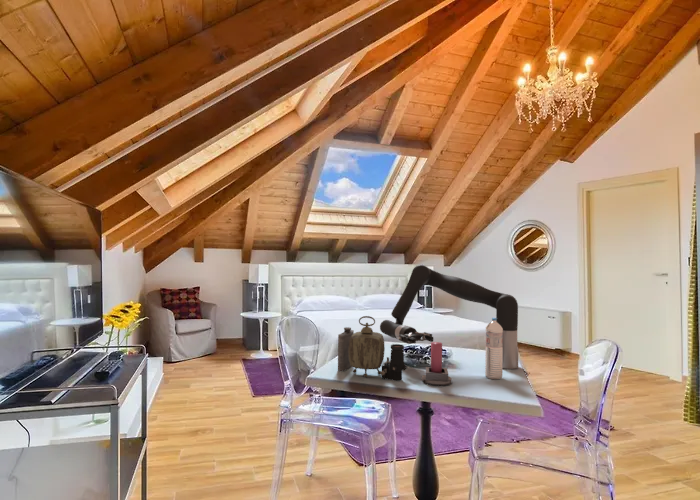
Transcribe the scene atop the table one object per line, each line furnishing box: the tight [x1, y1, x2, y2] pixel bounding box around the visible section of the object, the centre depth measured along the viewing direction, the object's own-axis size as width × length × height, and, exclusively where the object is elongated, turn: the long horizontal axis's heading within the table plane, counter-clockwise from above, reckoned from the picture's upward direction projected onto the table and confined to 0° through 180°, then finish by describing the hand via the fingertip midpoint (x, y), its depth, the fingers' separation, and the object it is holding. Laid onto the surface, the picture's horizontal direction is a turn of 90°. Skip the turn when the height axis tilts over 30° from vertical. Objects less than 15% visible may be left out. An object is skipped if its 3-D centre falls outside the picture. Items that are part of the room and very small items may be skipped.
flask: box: [337, 326, 355, 373], centre depth 188 cm, size 4×14×18 cm, turn 160°
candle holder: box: [421, 366, 453, 387], centre depth 169 cm, size 12×12×4 cm
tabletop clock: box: [348, 315, 385, 378], centre depth 176 cm, size 14×9×25 cm, turn 80°
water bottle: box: [484, 317, 504, 380], centre depth 176 cm, size 7×7×25 cm
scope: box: [380, 343, 407, 382], centre depth 172 cm, size 8×14×10 cm
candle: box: [430, 341, 443, 373], centre depth 169 cm, size 4×4×14 cm
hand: (423, 340), depth 179 cm, fingers open, 8 cm apart
